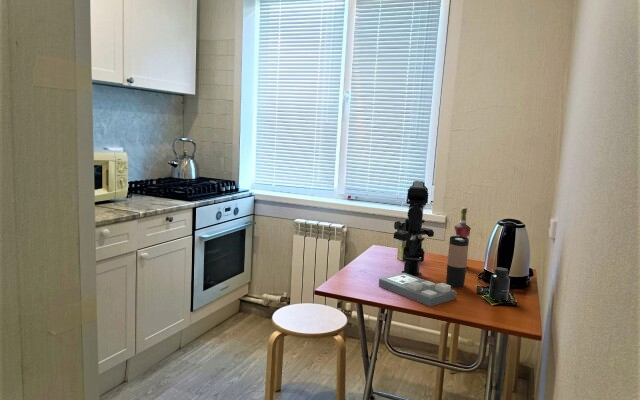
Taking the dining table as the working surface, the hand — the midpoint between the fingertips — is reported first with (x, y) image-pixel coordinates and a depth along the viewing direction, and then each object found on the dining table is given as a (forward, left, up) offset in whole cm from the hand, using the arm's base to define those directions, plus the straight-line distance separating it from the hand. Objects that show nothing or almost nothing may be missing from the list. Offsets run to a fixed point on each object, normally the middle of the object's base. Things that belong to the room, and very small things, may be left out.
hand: (412, 254), depth 193 cm
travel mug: (-14, +12, -12) cm, 22 cm away
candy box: (-26, -25, -12) cm, 38 cm away
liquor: (-39, -4, -12) cm, 41 cm away
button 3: (+11, +19, -11) cm, 24 cm away
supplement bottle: (-15, +31, -12) cm, 36 cm away
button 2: (+3, +11, -11) cm, 17 cm away
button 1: (+11, +12, -10) cm, 19 cm away
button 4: (+3, +19, -10) cm, 21 cm away
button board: (+7, +9, -12) cm, 17 cm away
